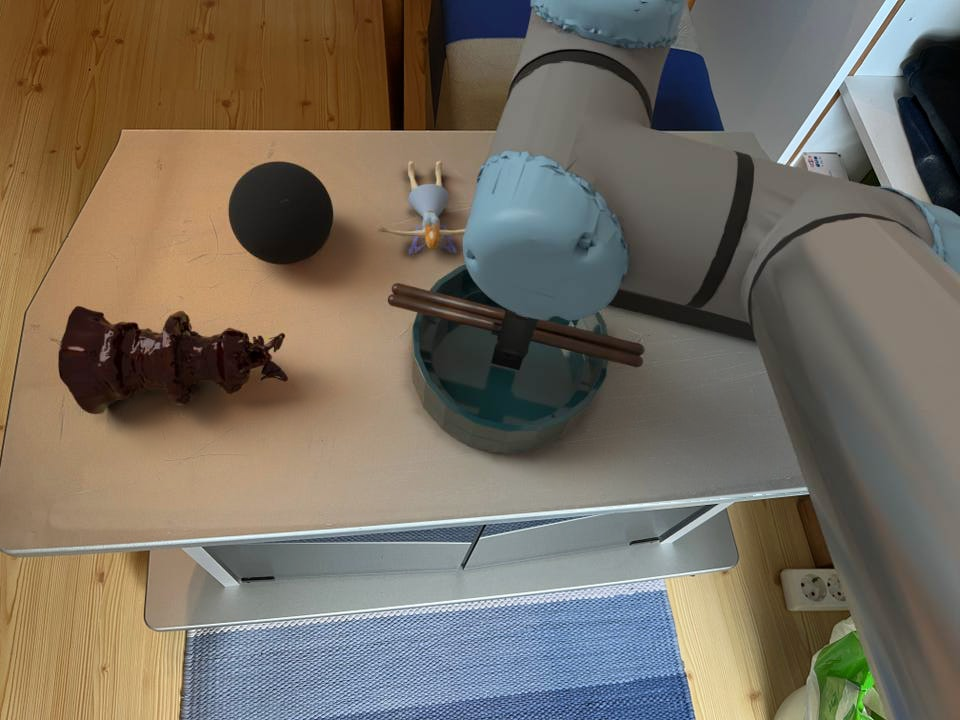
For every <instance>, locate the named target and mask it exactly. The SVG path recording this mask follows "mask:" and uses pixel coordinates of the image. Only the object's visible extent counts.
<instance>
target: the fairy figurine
mask: <svg viewBox="0 0 960 720" xmlns="http://www.w3.org/2000/svg"><path fill="white" fill-rule="evenodd" d="M407 165H408V168H407V169H408V170H407V175H408V178H409V179H410V189H411V191H410V193H409V194H408V197H407V202H408V204H409V206H410V207H411V208H412V209H413V210H414V211H415V212H416V213H417V214H418V215H420V217H422V222H421V223H422V224H420V225H418V226H417V227H416V228H415V229H414V230H411V231H404V230H392V229H388V228H385V227H383V226H379V227H378V226H377V227H376V228H375V230H376V232H379V233H389V234H392V235H397V236H401V237H414V238H413V240H412V244H411V246H410V248H409V249H408V254H409V255H412V254H415V253H417V252H419V251H420V250H422V248H423V247H424V246H425V245H426V247H427V248H429V249H431V250H434V249H436V248H437V247H439V248H440V247H441V246H442V247H443V248H444V250H446V251H448V252H449V253H454V254H456V253H457V251H458V250H457V248H456V247H455V245H454V244H453V242H452V241H453V240H452V239H451V237H450V236H460V235H464V233H465V229H466V228H464V229H457V230H449V229H448V227H446V225H443V224H441V221H440V218H439V216H440V214H441V213H442V212H443V211H444V209H445V208H446V206H447V205H448V204H449V201H450V194H449V192H448V191H447V190H446V188H445V187H443V183H442V176H443V162H442V161H441V160H437V161H436V162H435V171H434V172H435V173H434V175H435V177H436V178H435V179H436V181H435V184H433V183H427V184H425V183H424V184H421V185H418V183H417V180H416V172H415V171H416V169H415V162H414V161H412V160H410V161H409V162H408V164H407ZM421 228H422V229H421ZM441 228H443V229H441ZM440 237H443V238H444V237H445V238H447V239H446V241H447V245H445V244H446V242H444V241H445V239H443V238H440ZM419 238H423V239H422V241H425V242H424V244H423V245H421V244H422V243H420V242H419V243H417V242H418V239H419ZM440 239H441V241H443V240H444V241H443V243H444V244H442V242H441V241H440ZM418 244H419V246H417V245H418ZM439 244H440V245H441V246H439Z"/></svg>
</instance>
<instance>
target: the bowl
mask: <svg viewBox="0 0 960 720" xmlns="http://www.w3.org/2000/svg"><path fill="white" fill-rule="evenodd" d="M429 291H432V292H436V293H440V294H444V295H448V296H452V297H456V298H460V299H464V300H468V301H472V302H476V303H480V304H484V305H488V306H492V307H496V308H500V309H505V308H504V307H503V306H501V305H499V304H498V303H496V302H495V301H493V300H492V299H491V298H489V297H488V296H487V295H486V294H485V293H484V292H483V291H482V290H481V289H480V288H479V287H478V286H477V284H476V283H475V282H474V281H473V279H472V277H471V276H470V274H469V272H468V269H467V267H466V264H465V263H464V264H461V265H459V266H457V267H456V268H455V269H453V270H452V271H450V272H449V273H446V275H444V276H442V277H440V278H439V279H438V280H437V281H436V282H435V283H434V284H433V285H432V287H431V288H430V290H429ZM547 321H551V322H555V323H559V324H563V325H567V326H571V327H575V328H579V329H583V330H587V331H591V332H595V333H599V334H603V335H607V336H609V334H608V328H607V324H606V321H605V319H604V318H603V316H602V314H601V311H599V312H598V313H595V314H593V315H591V316H589V317H586V318H582V319H578V320H570V321H568V320H566V319H563V318H561V317H559V316H553V317H552V318H550V319H549V320H547ZM411 329H412V331H411V351H410V358H411V377H412V378H411V379H412V384H413V386H414V388H415V391H416V394H417V396H418V399H419V400H420V403H421V405H422V407H423V409H424V410H425V411H426V413H427V414H428V415H429V416H430V417H431V418H432V419H433V420H434V421H435V423H437V425H438V426H439V428H440V429H442V430H443V431H444V432H446V433H448V434H449V435H451V436H453V437H454V438H456V439H458V440H459V441H460V442H463V443H464V444H466V445H467V446H470V447H473V448H476V449H480V450H485V451H489V452H492V453H493V452H494V453H497V454H511V453H530V452H533V451H536V450H539V449H542V448H544V447H547V446H549V445H552V444H555V443H558V442H559V441H560V440H561V439H563V438H564V437H565V436H566V435H568V433H570V432H571V431H572V430H574V429H575V428H576V427H577V426H579V424H580V423H581V422H582V420H583V418H584V417H585V415H586V413H587V411H588V410H589V408H590V406H591V404H592V403H593V401H594V399H595V397H596V396H597V394H598V392H599V390H600V389H601V388H602V387H601V386H602V385H603V384H604V382H605V380H606V378H607V374H608V368H609V362H610V361H608V360H604V359H600V358H596V357H592V356H588V355H584V354H580V353H576V352H572V351H568V350H564V349H560V348H556V347H552V346H548V345H544V344H540V343H536V342H532V341H530V344H529V347H528V348H529V350H528V354H526V356H525V358H524V357H523V360H522V364H521V367H520V370H516V369H512V368H508V367H504V366H500V365H496V364H492V363H491V361H492V357H493V353H494V349H495V345H496V341H497V337H498V336H497V335H493V334H491V331H489V330H485V329H481V328H477V327H473V326H469V325H465V324H461V323H457V322H453V321H449V320H445V319H441V318H437V317H433V316H429V315H425V314H421V313H417V312H416V315H415V318H414V321H413V325H412V327H411Z"/></svg>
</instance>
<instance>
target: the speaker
mask: <svg viewBox="0 0 960 720" xmlns="http://www.w3.org/2000/svg"><path fill="white" fill-rule="evenodd" d="M227 211H228V220H229V224H230V228H231V230H232V232H233V235H234V236H235V238H236V240H237V241H238V243H239V244H240V246H241V247H242V248H243V249H244V250H246V252H248V253H249V254H250V255H252V256H253V257H254V258H256V259H258V260H260V261H262V262H266V263H268V264H273V265H280V266H285V265H287V266H288V265H294V264H299V263H302V262H304V261H306V260H308V259H310V258H312V257H313V256H314V255H316V254H317V253H318V252H319V251H320V250H321V249H322V248H323V247H324V245H325V244H326V243H327V241H328V240H329V237H330V235H331V232H332V230H333V224H334V207H333V202H332V199H331V196H330V193H329V191H328V190H327V187H326V186H325V185H324V183H323V182H322V181H321V180H320V179H319V178H318V177H317V176H316V175H315V174H314V173H313V172H312V171H310V170H308V169H307V168H305V167H304V166H302V165H299V164H297V163H293V162H289V161H282V160H281V161H280V160H278V161H277V160H276V161H275V160H274V161H269V162H264V163H260V164H257V165H255V166H254V167H251V168H250V169H249V170H248V171H246V172H245V173H244V174H243V175H242V176H241V177H240V178H239V179H238V180H237V182H236V184H234V187H233V189H232V191H231V194H230V196H229V201H228V209H227Z"/></svg>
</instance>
